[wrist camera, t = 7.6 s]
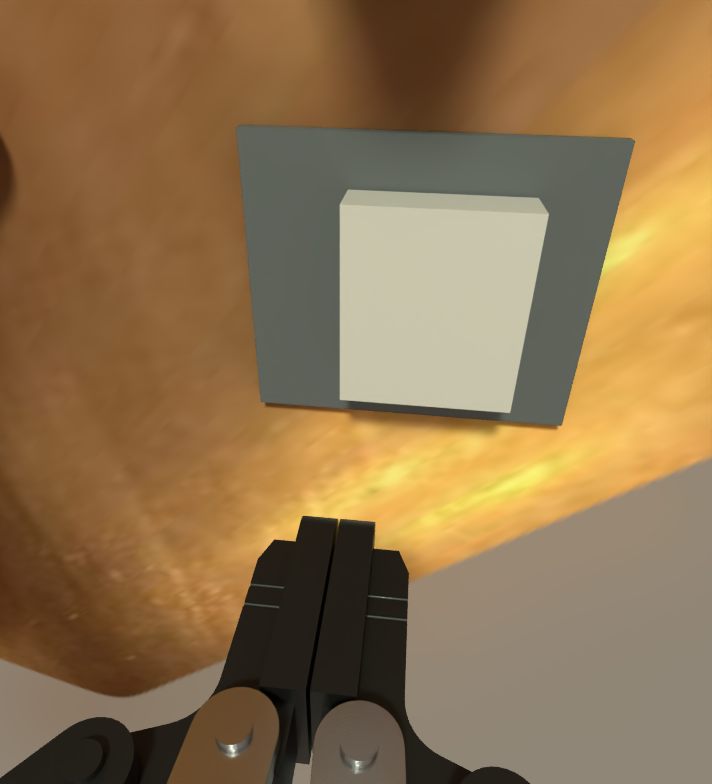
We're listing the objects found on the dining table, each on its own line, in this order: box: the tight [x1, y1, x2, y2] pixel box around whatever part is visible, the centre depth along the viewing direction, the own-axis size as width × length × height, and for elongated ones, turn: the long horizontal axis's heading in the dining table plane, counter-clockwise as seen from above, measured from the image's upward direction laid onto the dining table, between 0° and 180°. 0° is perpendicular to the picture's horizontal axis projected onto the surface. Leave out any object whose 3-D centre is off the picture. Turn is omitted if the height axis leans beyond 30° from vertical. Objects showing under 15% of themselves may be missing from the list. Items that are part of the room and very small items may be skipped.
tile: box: [340, 190, 549, 413], centre depth 22 cm, size 2×8×7 cm
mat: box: [236, 125, 635, 426], centre depth 24 cm, size 14×12×1 cm
